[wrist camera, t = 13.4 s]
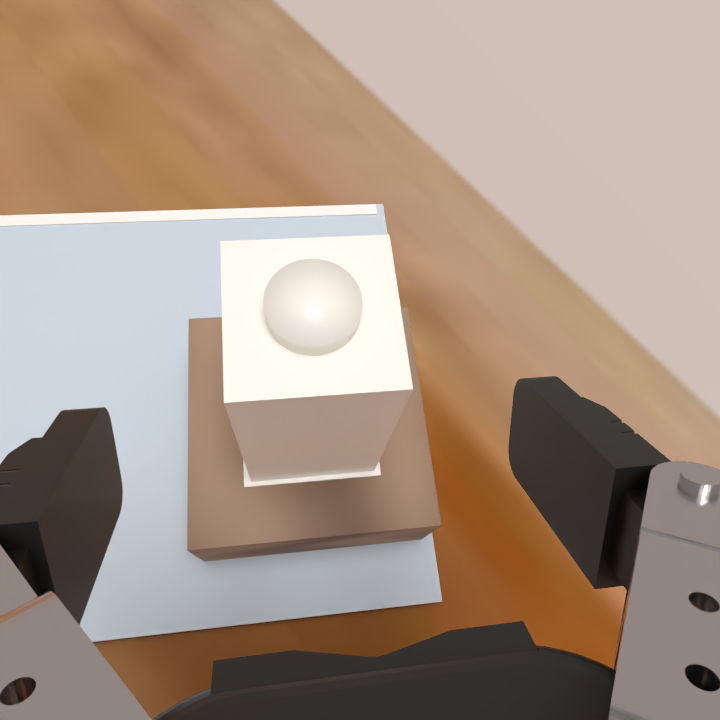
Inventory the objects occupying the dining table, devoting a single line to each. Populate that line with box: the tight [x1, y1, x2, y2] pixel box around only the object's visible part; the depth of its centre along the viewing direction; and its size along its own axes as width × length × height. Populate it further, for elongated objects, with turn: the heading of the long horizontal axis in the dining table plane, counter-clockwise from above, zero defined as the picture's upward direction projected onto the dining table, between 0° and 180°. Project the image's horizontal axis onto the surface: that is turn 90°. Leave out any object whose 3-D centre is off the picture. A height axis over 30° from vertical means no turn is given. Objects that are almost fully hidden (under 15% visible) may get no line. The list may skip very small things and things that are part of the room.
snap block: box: [220, 235, 413, 482], centre depth 19 cm, size 4×4×9 cm
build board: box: [0, 204, 442, 642], centre depth 26 cm, size 22×20×5 cm
